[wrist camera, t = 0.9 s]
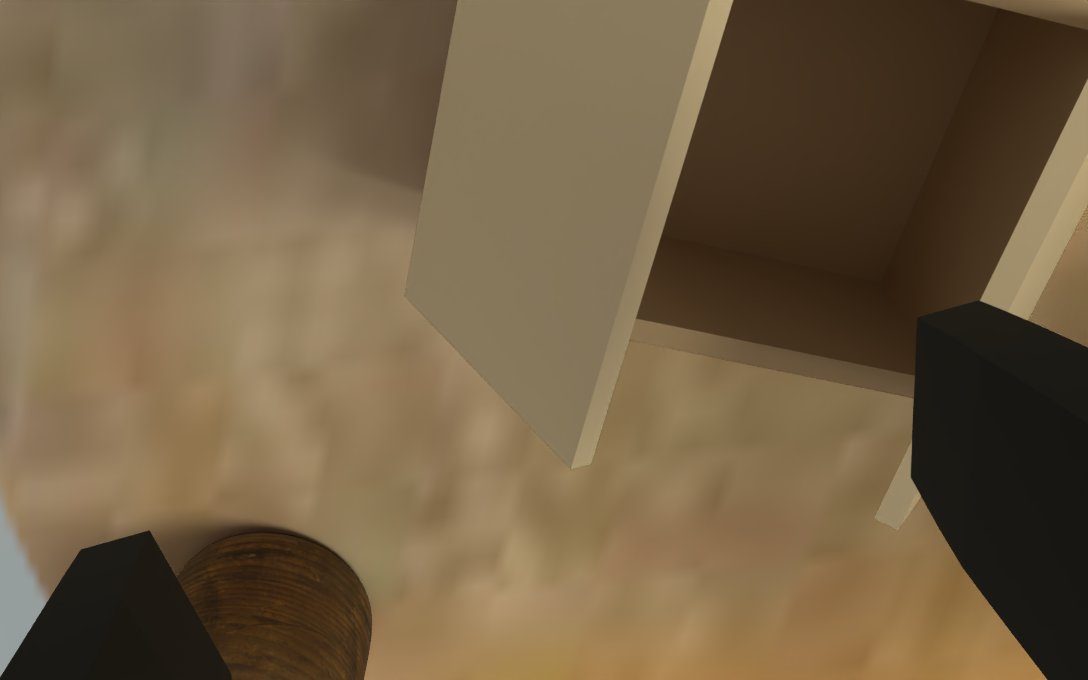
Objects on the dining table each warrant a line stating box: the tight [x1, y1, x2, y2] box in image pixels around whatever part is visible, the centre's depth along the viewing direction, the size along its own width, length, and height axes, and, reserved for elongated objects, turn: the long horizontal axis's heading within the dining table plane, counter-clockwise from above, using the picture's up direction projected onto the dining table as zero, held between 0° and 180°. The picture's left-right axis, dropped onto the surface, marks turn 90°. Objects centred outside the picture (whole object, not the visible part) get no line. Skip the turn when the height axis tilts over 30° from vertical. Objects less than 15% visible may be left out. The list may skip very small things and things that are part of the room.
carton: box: [629, 0, 1088, 398], centre depth 21 cm, size 11×8×5 cm
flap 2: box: [874, 80, 1088, 531], centre depth 17 cm, size 6×8×1 cm
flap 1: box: [404, 0, 733, 469], centre depth 16 cm, size 6×8×1 cm
